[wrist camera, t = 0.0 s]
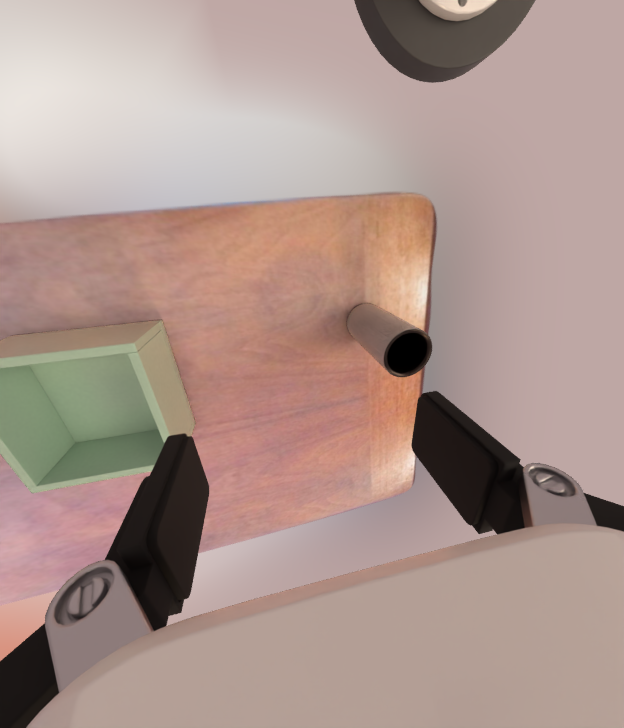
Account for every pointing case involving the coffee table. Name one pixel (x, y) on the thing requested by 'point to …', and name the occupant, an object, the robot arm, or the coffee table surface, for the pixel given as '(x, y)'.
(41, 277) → the coffee table surface
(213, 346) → the coffee table surface
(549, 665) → the robot arm
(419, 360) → the grey hollow cylinder
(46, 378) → the green open box
